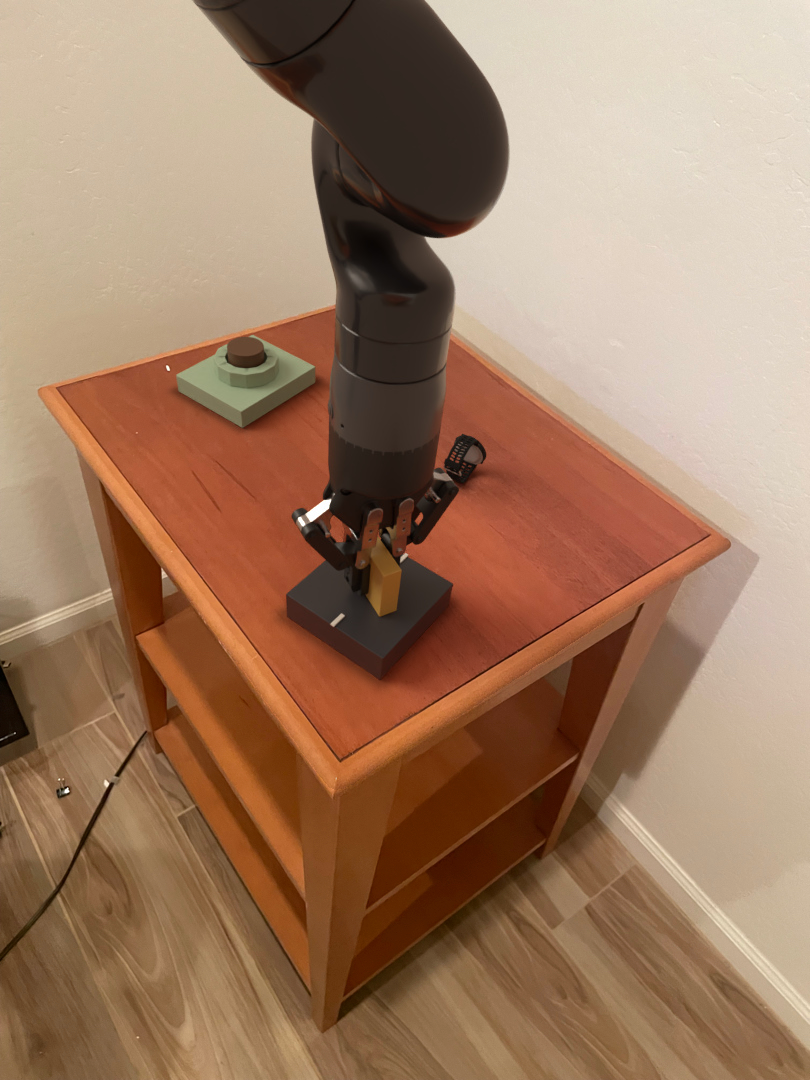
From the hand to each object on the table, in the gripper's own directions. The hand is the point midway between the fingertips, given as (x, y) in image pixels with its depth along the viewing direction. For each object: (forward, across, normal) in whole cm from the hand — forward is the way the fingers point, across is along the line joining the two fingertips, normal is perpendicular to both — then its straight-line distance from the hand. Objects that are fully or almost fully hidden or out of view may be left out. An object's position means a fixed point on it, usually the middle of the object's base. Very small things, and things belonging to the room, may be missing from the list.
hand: (371, 582), depth 61 cm
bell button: (0, +2, +35) cm, 35 cm away
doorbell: (+3, +2, +35) cm, 35 cm away
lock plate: (+4, 0, 0) cm, 4 cm away
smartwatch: (+4, +16, +12) cm, 21 cm away
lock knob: (0, 0, 0) cm, 0 cm away
